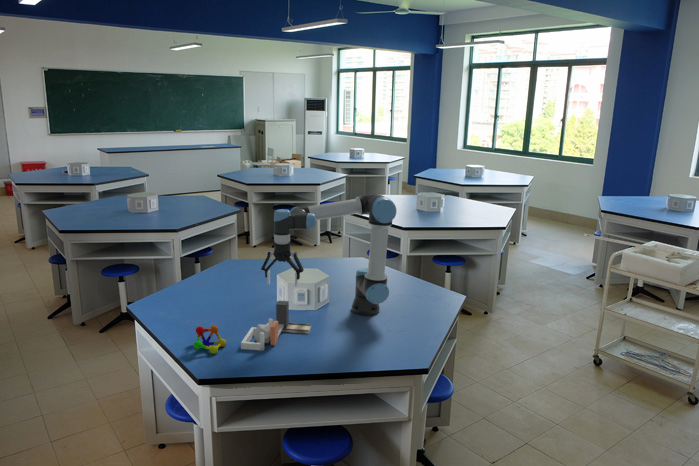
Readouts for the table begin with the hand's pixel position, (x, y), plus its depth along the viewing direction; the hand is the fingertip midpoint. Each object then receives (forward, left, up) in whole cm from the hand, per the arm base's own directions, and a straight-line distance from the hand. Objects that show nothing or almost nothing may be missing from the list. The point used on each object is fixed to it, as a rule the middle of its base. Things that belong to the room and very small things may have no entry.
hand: (282, 284), depth 249 cm
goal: (+8, +16, -23) cm, 29 cm away
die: (+5, +16, -23) cm, 28 cm away
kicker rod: (0, +9, -22) cm, 24 cm away
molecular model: (+28, +27, -23) cm, 45 cm away
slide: (-3, 0, -23) cm, 23 cm away
